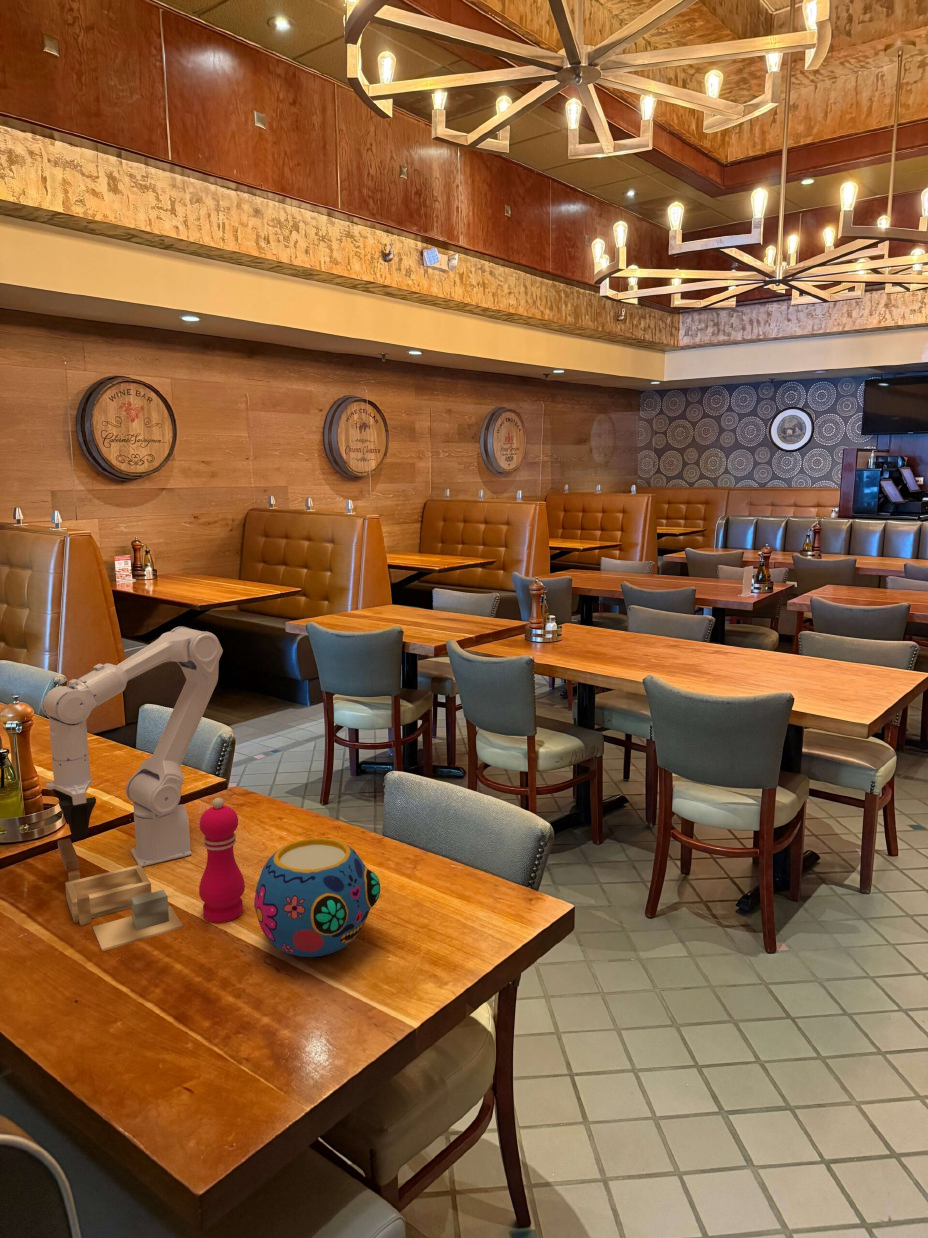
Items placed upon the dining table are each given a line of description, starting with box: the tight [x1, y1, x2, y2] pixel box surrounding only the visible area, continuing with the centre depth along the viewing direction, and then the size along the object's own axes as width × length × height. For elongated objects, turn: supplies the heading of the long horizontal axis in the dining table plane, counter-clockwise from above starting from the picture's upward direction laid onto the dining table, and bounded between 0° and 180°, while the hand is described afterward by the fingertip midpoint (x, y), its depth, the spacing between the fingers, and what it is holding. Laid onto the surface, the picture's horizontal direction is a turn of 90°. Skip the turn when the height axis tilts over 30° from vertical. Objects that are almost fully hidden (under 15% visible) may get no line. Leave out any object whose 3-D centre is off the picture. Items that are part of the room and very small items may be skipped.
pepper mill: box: [198, 797, 246, 924], centre depth 132 cm, size 7×7×20 cm
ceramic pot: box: [253, 837, 381, 958], centre depth 123 cm, size 18×18×15 cm
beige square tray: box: [64, 864, 152, 926], centre depth 136 cm, size 12×11×4 cm
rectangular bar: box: [57, 838, 80, 873], centre depth 142 cm, size 2×10×2 cm, turn 33°
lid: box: [92, 889, 184, 952], centre depth 129 cm, size 12×8×5 cm, turn 124°
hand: (76, 830), depth 142 cm, fingers open, 7 cm apart
